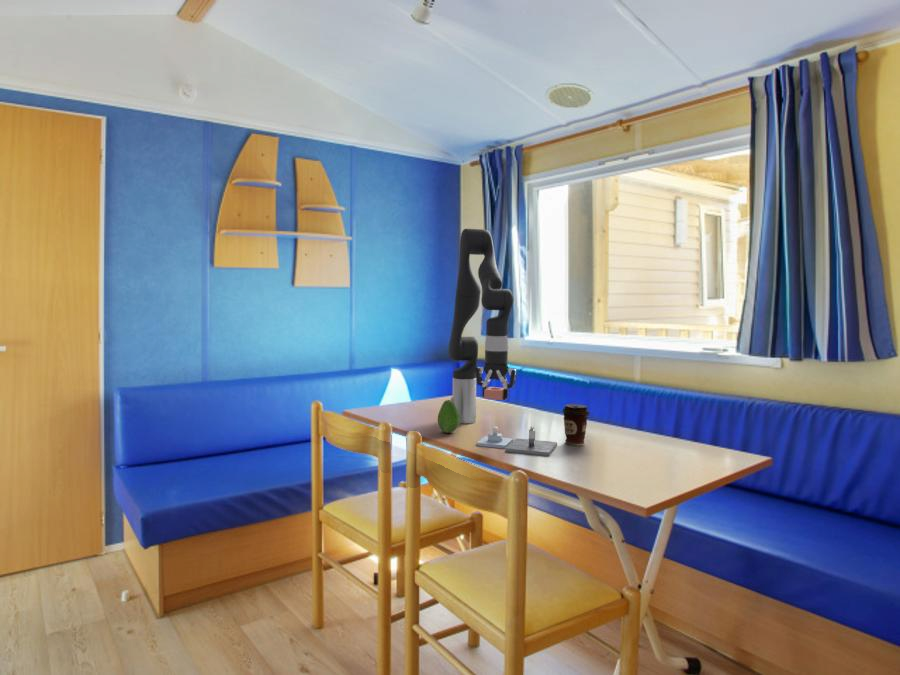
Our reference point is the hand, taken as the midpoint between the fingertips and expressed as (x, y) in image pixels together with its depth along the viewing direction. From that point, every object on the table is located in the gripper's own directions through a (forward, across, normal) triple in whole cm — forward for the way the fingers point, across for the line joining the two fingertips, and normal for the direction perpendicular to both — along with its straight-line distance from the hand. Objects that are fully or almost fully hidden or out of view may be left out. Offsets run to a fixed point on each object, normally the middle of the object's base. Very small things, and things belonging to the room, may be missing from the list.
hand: (495, 398), depth 205 cm
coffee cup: (+15, +25, +10) cm, 31 cm away
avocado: (+16, -20, +9) cm, 27 cm away
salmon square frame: (0, 0, 0) cm, 0 cm away
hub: (+15, +13, -2) cm, 20 cm away
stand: (+15, 0, 0) cm, 15 cm away
